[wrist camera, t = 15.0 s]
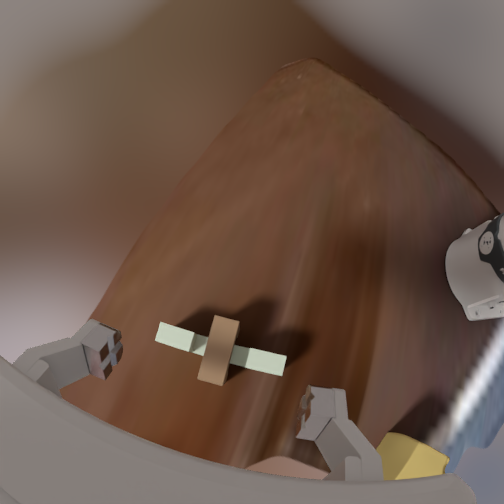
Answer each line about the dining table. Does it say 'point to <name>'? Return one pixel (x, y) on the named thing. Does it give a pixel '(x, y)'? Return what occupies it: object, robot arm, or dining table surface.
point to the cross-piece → (219, 350)
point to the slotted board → (239, 355)
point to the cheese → (409, 458)
